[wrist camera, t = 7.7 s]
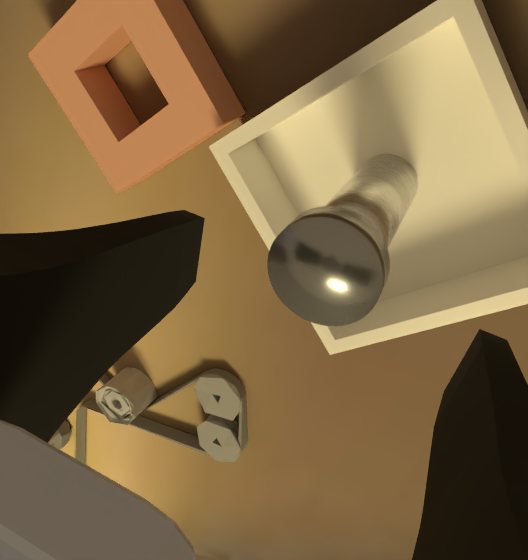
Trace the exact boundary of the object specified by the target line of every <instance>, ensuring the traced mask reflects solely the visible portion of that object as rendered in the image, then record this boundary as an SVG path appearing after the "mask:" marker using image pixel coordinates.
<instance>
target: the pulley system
mask: <svg viewBox="0 0 528 560" xmlns="http://www.w3.org/2000/svg"><path fill="white" fill-rule="evenodd" d="M99 381H100V382H101V383H102V384H103V386H102V387H101V388H100V389H98V390H97V391H96V399H93V398H91V399H90V400H88V401H86V402H85V403H84V404H83V405H82V406H81V407H80V408H79V409H78V410H77V419H76V455H75V459H76V460H78V461H80V462H82V463H83V464H85V440H86V412H87V408H88V409H91V410H94V411H96V412H99V413H101V414H104V415H105V416H106V417H107V419H108V420H109V421H110V422H114V423H119V424H125V425H128V424H130V425H132V426H135V427H137V428H140V429H142V430H145V431H148V432H150V433H153V434H155V435H158V436H160V437H163V438H166V439H168V440H171V441H173V442H176V443H178V444H181V445H184V446H186V447H189V448H191V449H194V450H196V451H199V452H201V453H204V454H207V455H209V456H211V457H213V458H214V459H215V460H216V461H236V460H237V458H238V457H239V455H240V454H241V452H242V451H243V449H244V448H246V445H247V441H248V431H247V402H246V391H245V388H244V386H243V384H242V383H241V382H240V380H239V379H238V378H237V377H235V376H234V375H233V374H231V373H230V372H228V371H225V370H222V369H218V368H213V369H210V370H207V371H205V372H203V373H202V374H200V375H198V376H196V377H195V378H193V379H191V380H190V381H188V382H186V383H184V384H182V385H181V386H179V387H177V388H175V389H173V390H172V391H170V392H168V393H166V394H164V395H162V396H161V397H159V398H157V397H158V396H157V393H156V390H155V387H154V384H153V382H152V381H151V380H150V379H149V378H148V377H147V376H146V375H145V374H144V373H143V372H142V371H140V370H138V369H136V368H128V367H126V368H124V369H122V370H121V371H120V372H119V373H118V374H117V375H116V376H114V377H113V378H112V379H111V378H110V377H108V376H107V375H106V374H104V375H103V376H102V377H101V378H100V380H99ZM197 381H198V382H197ZM195 382H197V384H196V386H195V388H194V390H195V392H196V394H197V396H198V398H199V400H200V402H201V405H202V407H203V409H204V411H205V413H209V414H211V415H210V416H208V418H207V419H206V421H205V422H203V423H202V424H200V425H199V426H197V432H198V437H196V436H193V435H191V434H188V433H185V432H182V431H180V430H177V429H174V428H172V427H169V426H166V425H163V424H161V423H158V422H155V421H153V420H150V419H147V418H144V417H142V416H139V414H140V413H141V412H142V411H144V410H146V409H148V408H150V407H151V406H153V405H155V404H157V403H159V402H160V401H162V400H164V399H166V398H168V397H170V396H171V395H173V394H175V393H177V392H179V391H180V390H182V389H184V388H186V387H188V386H190V385H191V384H193V383H195ZM155 398H157V399H155ZM154 399H155V400H154ZM238 412H239V424H238V423H237V422H236V421H235V420H234V418H235V417H236V415H237V414H238ZM71 432H72V431H71V430H70V426H69V423H68V422H67V421H66V420H65V421H64V422H63V423H62V425H61V426H60V427H59V429H58V430H57V431H56V433H55V434H54V435H53V436H52V438H51V439H50V440H49V442H48V443H49V444H50V445H52V446H54V447H56V448H57V449H61V448H63V447H64V446H65V445H66V444H67V442H68V441H69V440H70V436H71Z"/></svg>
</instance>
